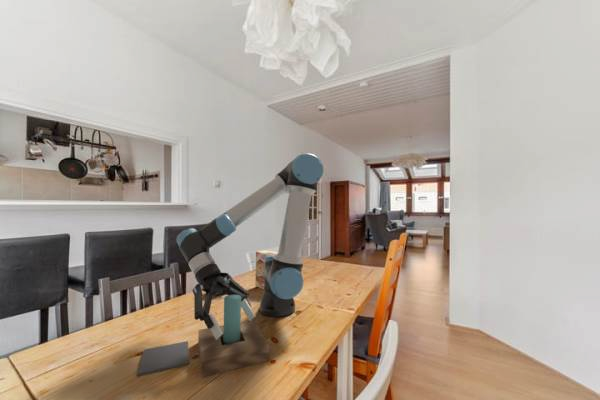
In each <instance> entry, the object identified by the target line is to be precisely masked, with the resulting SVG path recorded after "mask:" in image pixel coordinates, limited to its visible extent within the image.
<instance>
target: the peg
mask: <svg viewBox="0 0 600 400" xmlns="http://www.w3.org/2000/svg"><path fill="white" fill-rule="evenodd" d="M241 298H242V297H241V296H240V295H226V296H224V298H223V326H224V332H223V345H226V344H231V343H236V342H240V334H241V322H242V319H241V318H242V307H241Z"/></svg>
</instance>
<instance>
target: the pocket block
mask: <svg viewBox="0 0 600 400" xmlns="http://www.w3.org/2000/svg"><path fill="white" fill-rule="evenodd" d="M219 327H220V329H221V330H222V332H224V325H219ZM197 342H198V354H199V356H198V357H199V364H200V365H199V366H200V376H201V378H205V377H209V376H212V375H216V373H217V374H220V372H221V373H225V372H228V371H232V370H237V369H241V368H245V367H250V366H253V365H256V364H261V363H264V361H266V362H269V361H270V347H271V346H270V344H269V343H268V341H267V340H266V338H265V336H264V334H263V333H262V330H261V329H260V328H259V326H258V325H257V323H256V322H255V319H252V320H251V321H249V320H247V321H241V334H240V342H236V343H231V344H226V345H223V334H222V335H221V336H220V338H219V339H217V340H216V339H215V337H214V335H213V333H212V331H211V329H208V328H207V327H206V328H202V329H198V340H197ZM268 360H269V361H268ZM252 364H253V365H252Z"/></svg>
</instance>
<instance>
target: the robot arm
mask: <svg viewBox="0 0 600 400" xmlns="http://www.w3.org/2000/svg"><path fill="white" fill-rule="evenodd" d="M323 175H324V164H323V163H322V161H321V159H320V158H319V157H318V156H316V155H315V154H312V153H307V152H306V153H302V154H299V155H297V156H296V157H295V158H294V159H293V160H291V161H290V162H289V163H288V164H287V165H286V166H285V167H284V168H283V169H282V170H281V171H280V172H278V173H277V174H275V176H274V178H273V179H272V180H270V181H269V182H268V183H266V184H265V185H263V186H262V187H260V188H259V189H257V190H256V191H254V192H253V193H251V194H250V195H248V196H247V197H245V198H244V199H243V200H241V201H239V202H238V203H237V204H235V205H234V206H232V207H230V208H229V209H228V210H226V211H225V212H223V213H221V215H219V216H217V217H215V218H214V219H212V220H211V221H210V222H208V223H207V224H205V225H204V226H203V227H201V228H199V229H198V230H197V229H196V228H193V227H192V228H191V227H189V228H187V229H183V230H182V231H181V232H180V233H178V234H177V236H176V243H177V245H178V247H179V248H178V249H179V251H180V252H181V254H182V256H183V257H184V259H185V261H186V262H187V264H188V266H189V269H190V270H191V272H192V274H193V275H194V278H195V280H196V282H197V284H196V285H195V286H193V289H192V293H193V296H194V300H193V301H194V304H193V305H194V306H193V307H194V315H193V316H194V319H195V320H196V321H197V320H200V321H201V322H204V324H205V325H206V328H208V329H211V331H212V333H213V335H214V337H215V339H216V340H217V339H219V338H220V336H221V335H222V334H223V332H222V330H221V329H220V327H219V326H220V325H219V323H218V321H217V320H216V317H215V316H214V313H212V312H211V306H212V301H213V297H216V296H215V295H217V294H221V293H223V294H225V295H226V296H228V295H240V296H241V310H242V311H243V312H244V314H245V315H246V318H247V319H248V321H252V320H254V318H255V317H256V316H257V315H256V313H255V312H254V310H253V308H252V305H251V303H250V302H249V300H248V297H249V296H250V292H249V291H248V290H247V289H246V288H245V287H243V286H241V284H240V283H238V282H237V281H236V280H234V279H233V277H232V276H231V275H230V274H229V275H228V276H227V277H226V278H223V277H222V276H221V273H222V272H221V269H220V268H219V266H218V264H217V263H216V261H215V259H214V258H213V256H212V254H211V253H210V251H209V249H210V248H212V247H214V246H215V245H217V244H218V243H219V242H221V241H222V240H224V239H226V238H227V237H230V236H231V235H232V234H233V233H234V232H236V230H237V227H238V226H239V225H241V224H242V223H244V222H245V221H246V220H249V219H250V218H251V217H253V216H254V215H255V214H257V213H258V212H260V211H261V210H263V209H264V208H265V207H267V206H269V205H270V204H271V203H273V202H274V201H275V200H277V199H279V198H280V197H281V196H283V195H284V194H288V199H287V204H286V209H285V213H284V220H283V225H282V230H281V237H280V241H279V245H278V246H279V247H278V251H277V252H278V254H276V255H270V256H266V257H265V262H264V264H265V272H264V290H263V294H262V296H261V300H260V303H259V312H260V314H262V315H264V316H267V317H274V318H275V317H277V318H278V317H280V316H281V317H286V315H287V316H289V314H290V315H292V314H293V313H294V312H295V311H296V303H295V299H294V298H295V297H296V296H297V295H299V294H300V293H301V291H302V289H303V286H304V278H303V274H302V272H303V265H304V261H303V260H302V258H301V255H302V250H303V243H304V239H305V232H306V226H307V222H308V216H309V210H310V205H311V201H312V196H313V195H314V194H316V193H317V187H318V185H319V184H318V183H319V181H320V180H321V178H322V177H323ZM225 287H226V288H225ZM203 292H205V295H204V301H203ZM210 312H211V313H210ZM291 313H292V314H291Z"/></svg>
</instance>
